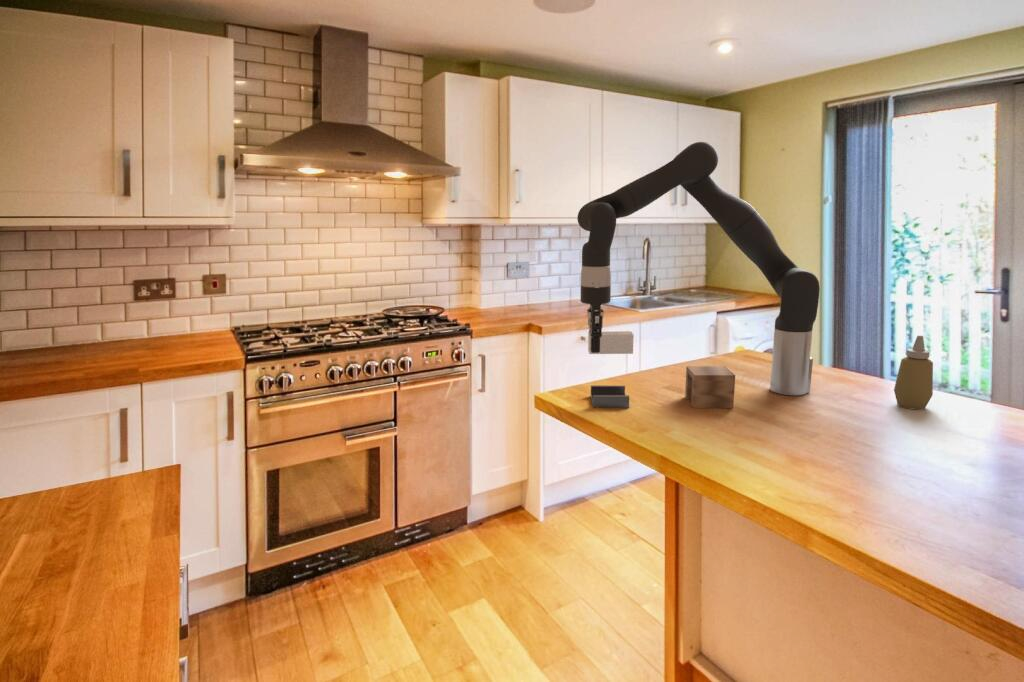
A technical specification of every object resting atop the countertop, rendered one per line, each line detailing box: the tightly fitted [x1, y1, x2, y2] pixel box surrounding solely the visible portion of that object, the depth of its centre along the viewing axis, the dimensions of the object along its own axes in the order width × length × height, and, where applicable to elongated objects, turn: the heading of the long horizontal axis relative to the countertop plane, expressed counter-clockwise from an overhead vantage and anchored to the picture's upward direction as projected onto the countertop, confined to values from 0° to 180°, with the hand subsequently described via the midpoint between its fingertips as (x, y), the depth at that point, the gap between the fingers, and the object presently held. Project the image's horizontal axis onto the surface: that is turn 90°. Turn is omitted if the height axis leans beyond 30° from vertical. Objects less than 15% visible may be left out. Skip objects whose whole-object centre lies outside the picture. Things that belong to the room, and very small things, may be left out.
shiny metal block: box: [587, 330, 634, 355], centre depth 156 cm, size 11×4×5 cm, turn 88°
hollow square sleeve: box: [684, 365, 736, 409], centre depth 157 cm, size 10×9×8 cm
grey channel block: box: [590, 384, 630, 409], centre depth 159 cm, size 9×10×3 cm
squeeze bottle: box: [893, 335, 934, 410], centre depth 150 cm, size 8×8×18 cm
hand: (594, 350), depth 157 cm, fingers closed on shiny metal block, 4 cm apart
